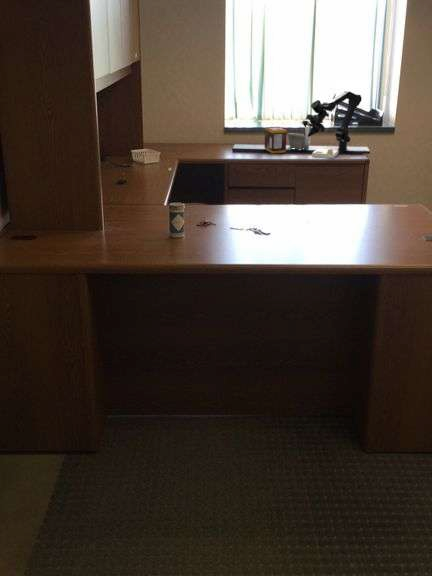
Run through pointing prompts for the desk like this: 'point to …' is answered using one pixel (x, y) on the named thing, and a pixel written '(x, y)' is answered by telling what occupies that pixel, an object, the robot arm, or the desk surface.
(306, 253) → the desk surface
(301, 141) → the digital clock
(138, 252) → the desk surface
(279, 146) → the supplement box
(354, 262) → the desk surface
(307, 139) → the steel pin
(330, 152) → the gauge board
